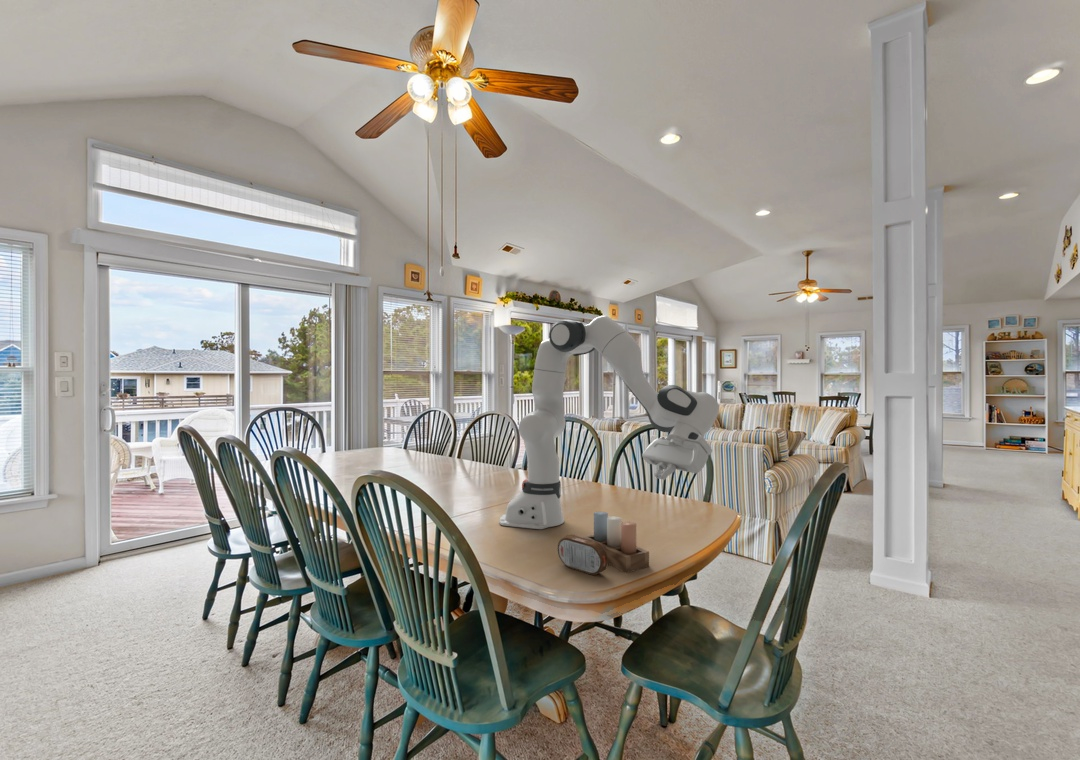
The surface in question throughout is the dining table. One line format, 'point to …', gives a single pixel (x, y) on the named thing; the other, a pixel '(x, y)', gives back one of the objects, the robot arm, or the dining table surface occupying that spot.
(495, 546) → the dining table surface
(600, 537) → the blue grey capsule
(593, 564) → the tin
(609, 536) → the white pillar candle
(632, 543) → the salmon pink capsule
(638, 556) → the three candle holder
